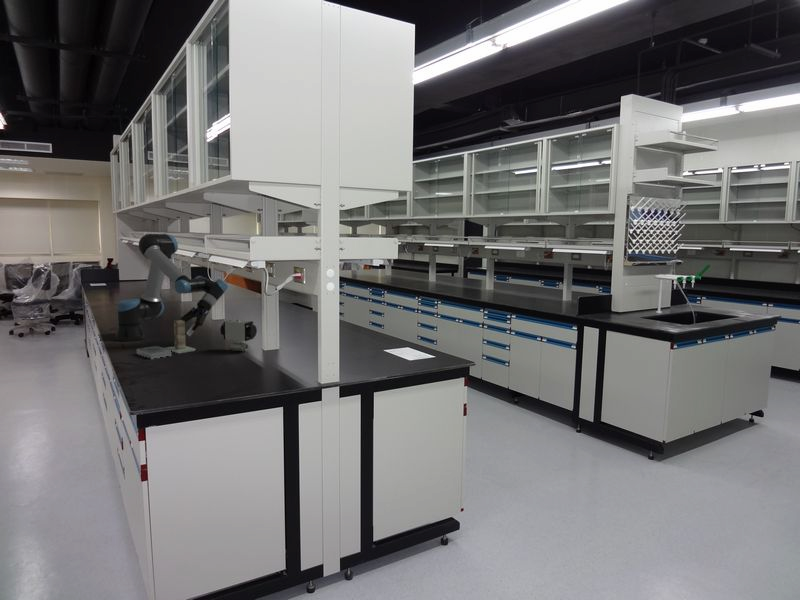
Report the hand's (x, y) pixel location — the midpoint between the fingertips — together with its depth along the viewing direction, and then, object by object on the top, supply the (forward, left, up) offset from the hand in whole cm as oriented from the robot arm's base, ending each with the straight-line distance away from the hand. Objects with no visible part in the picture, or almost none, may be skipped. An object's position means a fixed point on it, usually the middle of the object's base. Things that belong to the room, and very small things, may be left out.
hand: (181, 333), depth 276 cm
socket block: (+2, -16, -9) cm, 18 cm away
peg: (0, -1, -8) cm, 8 cm away
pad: (0, -1, -9) cm, 9 cm away
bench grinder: (+24, +20, -9) cm, 32 cm away
